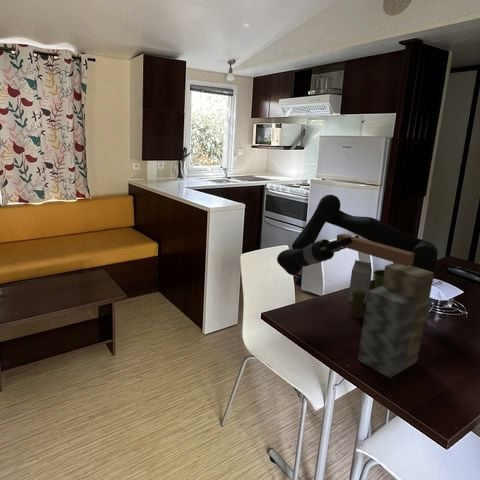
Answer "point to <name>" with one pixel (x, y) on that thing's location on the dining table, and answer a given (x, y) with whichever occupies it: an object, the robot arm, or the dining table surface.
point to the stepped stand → (395, 319)
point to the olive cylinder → (357, 304)
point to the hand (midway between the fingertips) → (354, 239)
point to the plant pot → (378, 277)
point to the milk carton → (360, 278)
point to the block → (379, 250)
